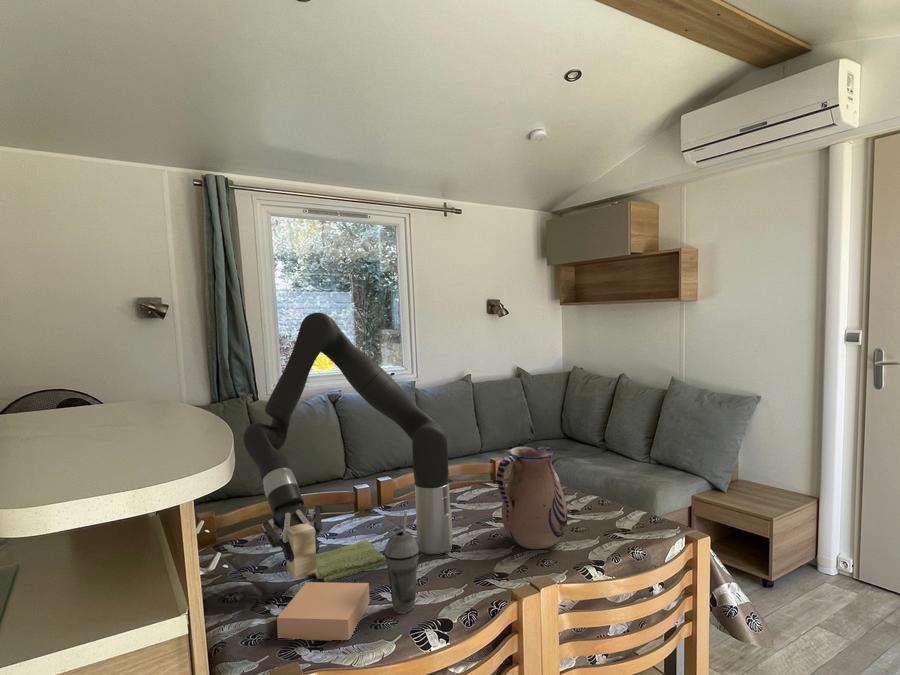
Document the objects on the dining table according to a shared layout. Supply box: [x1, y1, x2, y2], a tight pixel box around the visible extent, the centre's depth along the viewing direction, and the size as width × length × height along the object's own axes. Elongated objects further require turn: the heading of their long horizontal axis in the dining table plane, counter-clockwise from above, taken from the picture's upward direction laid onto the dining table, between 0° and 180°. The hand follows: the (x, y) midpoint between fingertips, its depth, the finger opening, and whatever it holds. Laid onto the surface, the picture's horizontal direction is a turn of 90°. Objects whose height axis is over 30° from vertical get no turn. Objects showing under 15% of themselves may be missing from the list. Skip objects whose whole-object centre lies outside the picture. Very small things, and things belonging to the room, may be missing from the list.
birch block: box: [286, 523, 317, 580], centre depth 113 cm, size 5×5×10 cm
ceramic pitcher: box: [496, 445, 569, 550], centre depth 133 cm, size 18×21×25 cm
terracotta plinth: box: [276, 581, 370, 642], centre depth 101 cm, size 14×14×4 cm
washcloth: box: [313, 540, 386, 583], centre depth 126 cm, size 13×18×3 cm
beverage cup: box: [383, 510, 420, 613], centre depth 104 cm, size 7×7×20 cm
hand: (304, 555), depth 112 cm, fingers closed on birch block, 5 cm apart
